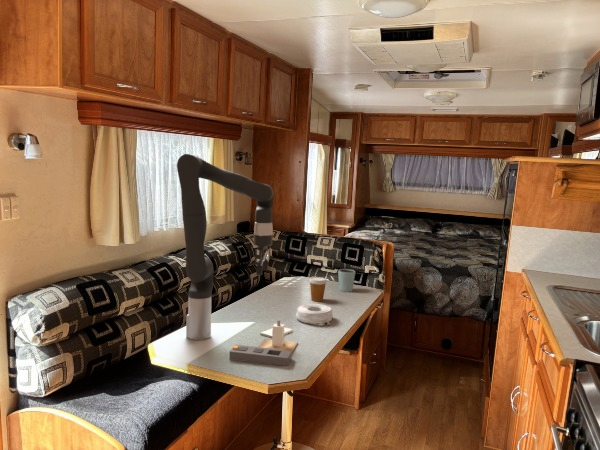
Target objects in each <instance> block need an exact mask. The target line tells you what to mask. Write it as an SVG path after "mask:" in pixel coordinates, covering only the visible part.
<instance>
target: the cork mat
mask: <svg viewBox="0 0 600 450" xmlns="http://www.w3.org/2000/svg"><path fill="white" fill-rule="evenodd" d="M298 344H299V342H298V341H291V340H290V341H289V340H284V344H283V346H282V347H278V346H272V338H264V339H263V340H262V341H261V342H260V343H259V345H258V346H257V347H262V348H271V349H279V350H288V351H292V353H294V351H295V349H296V348H297V345H298Z"/></svg>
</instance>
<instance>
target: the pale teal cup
mask: <svg viewBox="0 0 600 450" xmlns="http://www.w3.org/2000/svg"><path fill="white" fill-rule="evenodd" d="M337 272H338V273H337V274H338V276H337V277H338V278H337V279H338V287H337V288H338V289H337V290H338V291H340V292H343V293H351V292H353V290H354V283H355V276H356V271H355V270H354V269H349V268H340V269H338V271H337Z"/></svg>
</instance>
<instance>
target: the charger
mask: <svg viewBox="0 0 600 450" xmlns="http://www.w3.org/2000/svg"><path fill="white" fill-rule="evenodd" d="M276 321H277V322H276V323H274V324H273V325H272V328H273V331H272V338H271V339H272V346H278V347H282V346H283V344H284V341H285V335H284V327H285V324H284V323H283V324H282V323H281V320H280V319H277V320H276Z"/></svg>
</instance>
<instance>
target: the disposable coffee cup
mask: <svg viewBox="0 0 600 450" xmlns="http://www.w3.org/2000/svg"><path fill="white" fill-rule="evenodd" d="M308 281H309V285H310V286H309V287H310V299H311V301H312V302H314V303H315V302H324V296H325V290H326V284H327V278H325V277H322V276H321V277H319V276H312V277H310V278H309V280H308Z"/></svg>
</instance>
